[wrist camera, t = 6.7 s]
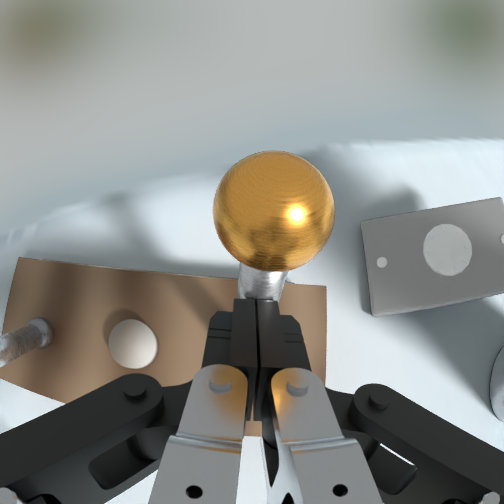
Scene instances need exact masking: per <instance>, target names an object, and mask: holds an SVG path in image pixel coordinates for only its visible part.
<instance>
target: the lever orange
mask: <svg viewBox="0 0 504 504" xmlns="http://www.w3.org/2000/svg"><path fill="white" fill-rule="evenodd" d="M334 217H335V206H334V199H333V195H332V192H331V189H330V187H329V185H328V183H327V181H326V179H325V178H324V176H323V175H322V174H321V172H320V171H319V170H318V169H317V168H316V167H315V166H314V165H312V164H311V163H310V162H308V161H307V160H305V159H304V158H302V157H300V156H297V155H295V154H292V153H288V152H284V151H263V152H259V153H255V154H252V155H250V156H247V157H245V158H244V159H242V160H240V161H239V162H238V163H236V164H235V165H234V166H233V167H232V168H231V169H230V170H229V171H228V172H227V173H226V174H225V176H224V177H223V178H222V180H221V182H220V184H219V186H218V188H217V190H216V194H215V198H214V203H213V219H214V225H215V229H216V232H217V234H218V237H219V239H220V241H221V242H222V244H223V245H224V247H225V248H226V250H227V251H228V252H229V253H230V254H231V255H232V256H233V257H234V258H236V259H237V260H238V261H240V267H239V282H238V298H242V299H254V300H255V307H256V301H257V299H259V300H276V301H278V303H279V300H280V296H281V293H282V290H283V287H284V283H285V280H286V277H287V274H288V271H289V270H292V269H295V268H298V267H300V266H302V265H304V264H306V263H307V262H309V261H310V260H311V259H313V258H314V257H315V256H316V255H317V254H318V253H319V252H320V251H321V250H322V248H323V247H324V246H325V244H326V242H327V240H328V238H329V236H330V234H331V231H332V228H333V224H334Z"/></svg>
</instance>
